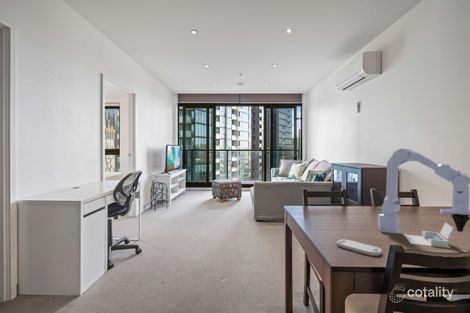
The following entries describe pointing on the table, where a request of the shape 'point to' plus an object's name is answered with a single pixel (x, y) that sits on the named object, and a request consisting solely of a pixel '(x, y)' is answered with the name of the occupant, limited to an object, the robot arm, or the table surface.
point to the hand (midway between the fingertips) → (459, 231)
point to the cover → (446, 231)
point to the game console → (359, 247)
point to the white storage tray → (428, 239)
